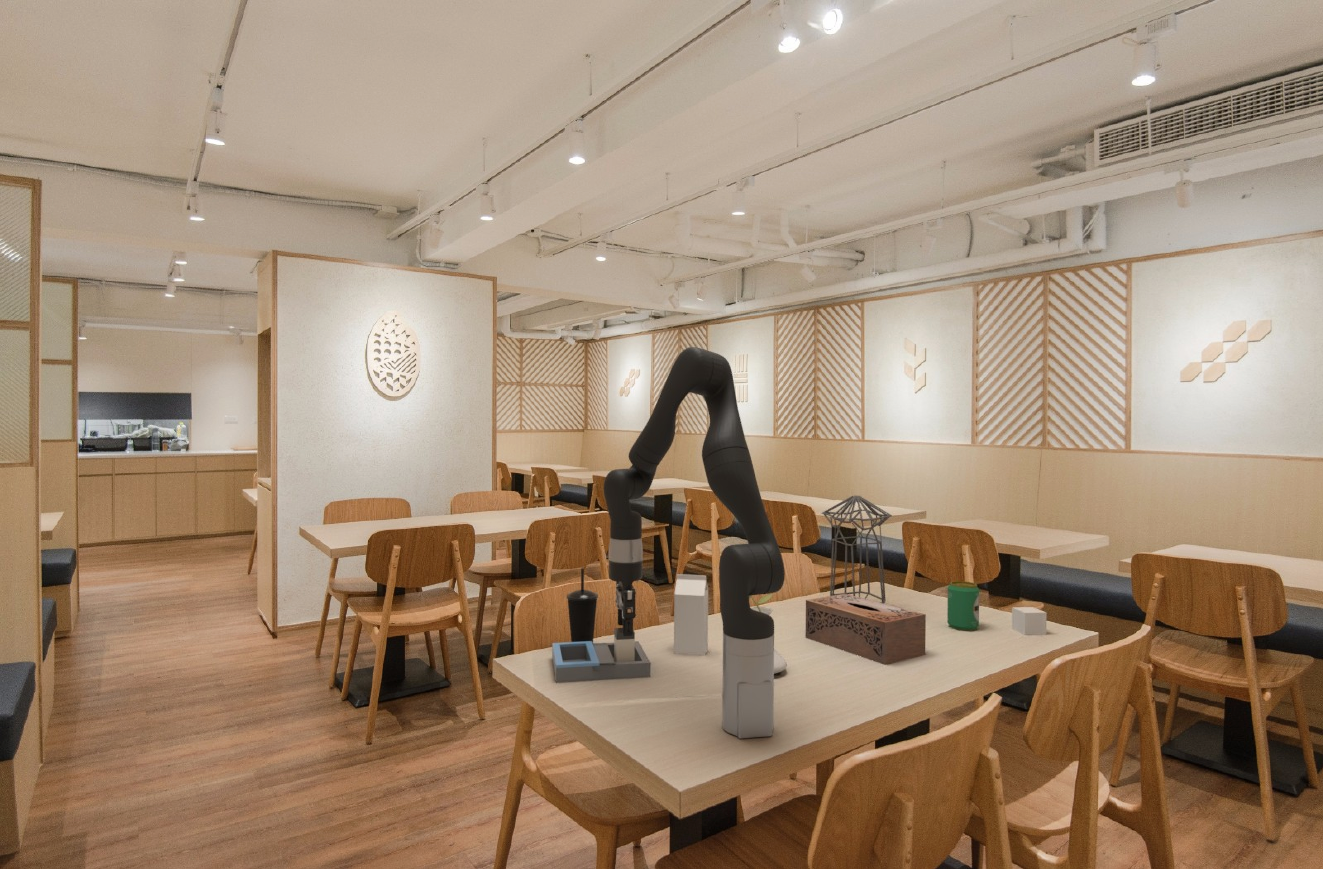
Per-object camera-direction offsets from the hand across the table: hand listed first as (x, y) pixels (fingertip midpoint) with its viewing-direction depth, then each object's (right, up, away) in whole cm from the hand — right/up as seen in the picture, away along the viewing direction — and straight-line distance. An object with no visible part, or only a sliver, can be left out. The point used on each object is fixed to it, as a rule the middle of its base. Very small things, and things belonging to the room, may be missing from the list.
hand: (625, 630), depth 164 cm
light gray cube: (+107, -10, +33) cm, 112 cm away
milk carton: (+15, -9, +12) cm, 21 cm away
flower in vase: (+30, -9, 0) cm, 31 cm away
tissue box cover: (+59, -10, +19) cm, 63 cm away
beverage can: (+91, -9, +37) cm, 99 cm away
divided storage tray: (-6, -9, -1) cm, 11 cm away
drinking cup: (-11, -9, +13) cm, 20 cm away
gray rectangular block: (0, -8, 0) cm, 8 cm away
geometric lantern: (+65, -9, +50) cm, 82 cm away
